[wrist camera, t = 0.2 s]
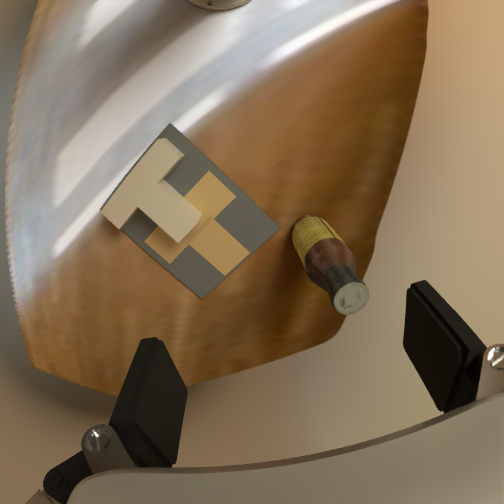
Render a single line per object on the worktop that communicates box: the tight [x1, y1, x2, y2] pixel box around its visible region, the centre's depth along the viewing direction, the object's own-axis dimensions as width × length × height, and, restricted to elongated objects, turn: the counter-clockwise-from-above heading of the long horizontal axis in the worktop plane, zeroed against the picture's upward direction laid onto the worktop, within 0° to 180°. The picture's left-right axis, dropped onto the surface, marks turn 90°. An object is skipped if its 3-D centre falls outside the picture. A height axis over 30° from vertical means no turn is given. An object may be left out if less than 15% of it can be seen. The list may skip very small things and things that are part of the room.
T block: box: [101, 138, 202, 243], centre depth 43 cm, size 12×14×4 cm
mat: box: [100, 123, 280, 299], centre depth 47 cm, size 23×18×1 cm
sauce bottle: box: [291, 215, 369, 315], centre depth 39 cm, size 7×6×20 cm
